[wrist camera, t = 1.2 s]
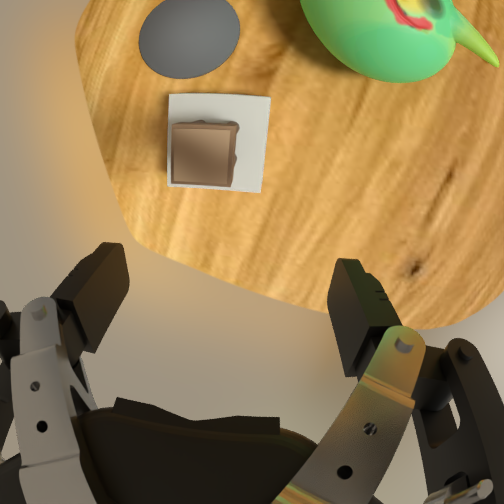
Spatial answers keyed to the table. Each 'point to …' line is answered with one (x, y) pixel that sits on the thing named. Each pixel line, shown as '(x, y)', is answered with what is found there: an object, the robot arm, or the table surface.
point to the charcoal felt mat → (189, 37)
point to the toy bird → (394, 36)
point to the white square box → (223, 111)
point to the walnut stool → (203, 153)
